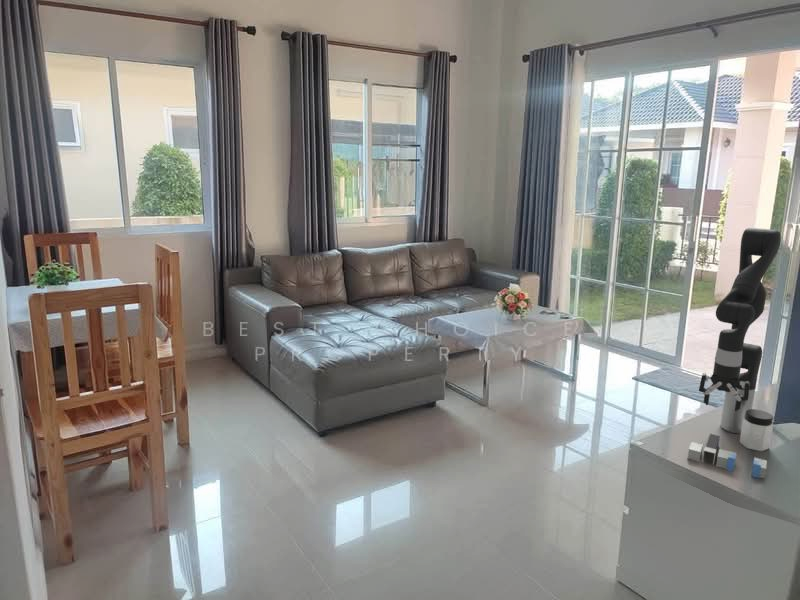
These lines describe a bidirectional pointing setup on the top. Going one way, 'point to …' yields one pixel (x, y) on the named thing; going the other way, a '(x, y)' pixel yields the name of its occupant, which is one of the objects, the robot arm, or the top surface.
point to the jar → (756, 430)
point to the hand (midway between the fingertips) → (721, 407)
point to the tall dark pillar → (711, 449)
